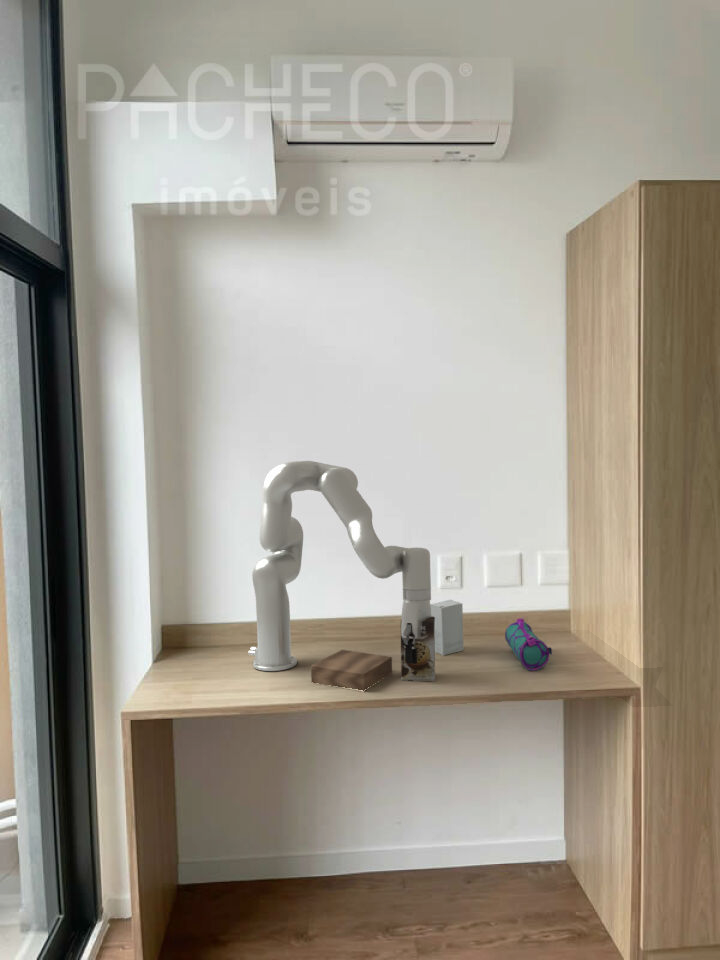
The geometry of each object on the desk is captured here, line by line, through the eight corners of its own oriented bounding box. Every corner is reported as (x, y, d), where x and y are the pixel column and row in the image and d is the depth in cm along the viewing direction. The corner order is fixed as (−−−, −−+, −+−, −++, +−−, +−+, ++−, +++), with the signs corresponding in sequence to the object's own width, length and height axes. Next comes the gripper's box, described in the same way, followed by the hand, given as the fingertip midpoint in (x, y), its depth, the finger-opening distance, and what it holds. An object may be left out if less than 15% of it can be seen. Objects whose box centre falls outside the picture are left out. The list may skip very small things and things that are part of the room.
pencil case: (552, 671, 193) (552, 637, 192) (520, 672, 193) (519, 638, 192) (533, 649, 213) (532, 617, 213) (503, 650, 213) (503, 618, 213)
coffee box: (400, 681, 188) (399, 621, 187) (402, 673, 194) (401, 615, 193) (435, 681, 187) (434, 621, 186) (435, 673, 193) (434, 615, 192)
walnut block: (311, 684, 188) (311, 665, 188) (342, 666, 202) (341, 649, 202) (363, 693, 181) (363, 674, 180) (392, 674, 194) (391, 656, 194)
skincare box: (451, 646, 218) (451, 599, 217) (464, 651, 213) (463, 602, 212) (430, 651, 213) (429, 602, 213) (442, 656, 208) (441, 606, 207)
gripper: (417, 586, 199) (419, 648, 200) (389, 599, 183) (391, 665, 184) (442, 589, 195) (443, 651, 196) (415, 602, 180) (417, 669, 181)
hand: (418, 658), depth 190 cm, fingers closed on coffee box, 8 cm apart
